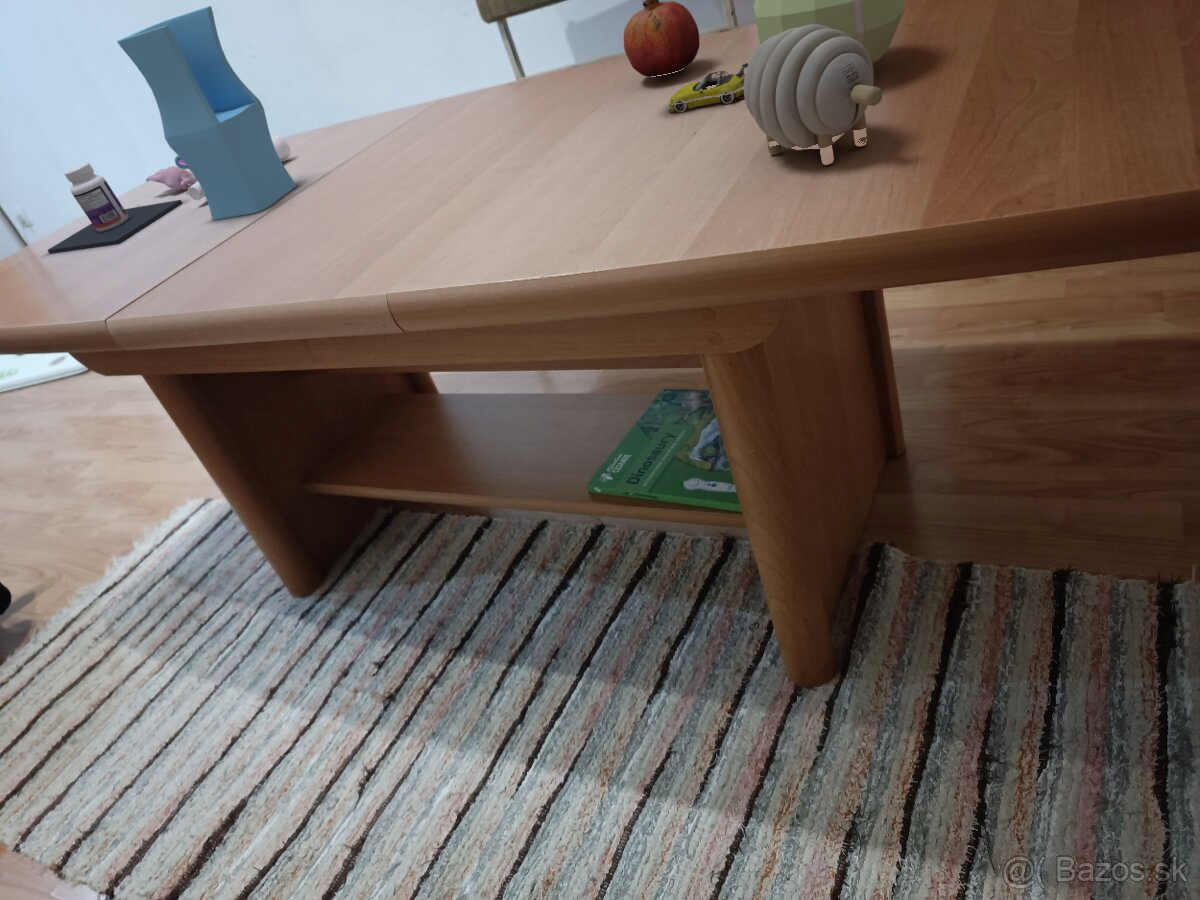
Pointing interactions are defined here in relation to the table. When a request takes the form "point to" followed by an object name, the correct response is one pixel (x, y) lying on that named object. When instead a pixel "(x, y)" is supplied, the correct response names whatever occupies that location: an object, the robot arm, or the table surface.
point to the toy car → (709, 91)
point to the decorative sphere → (834, 19)
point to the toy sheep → (809, 87)
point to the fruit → (661, 39)
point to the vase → (210, 114)
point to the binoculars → (281, 149)
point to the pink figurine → (174, 176)
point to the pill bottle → (96, 198)
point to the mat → (116, 228)
